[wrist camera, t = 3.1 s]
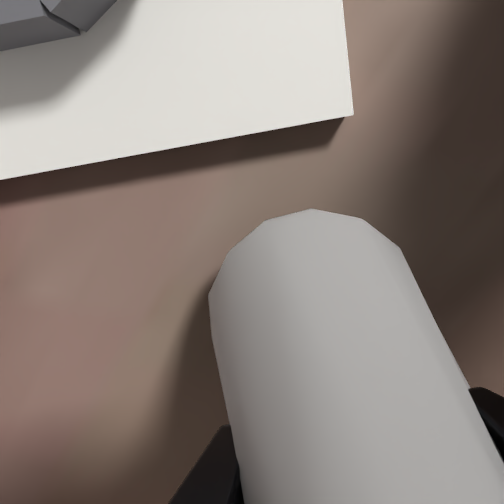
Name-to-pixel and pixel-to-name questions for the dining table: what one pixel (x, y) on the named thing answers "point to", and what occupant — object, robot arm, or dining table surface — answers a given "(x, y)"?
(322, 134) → the dining table surface
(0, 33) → the ring holder
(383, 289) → the salt shaker
